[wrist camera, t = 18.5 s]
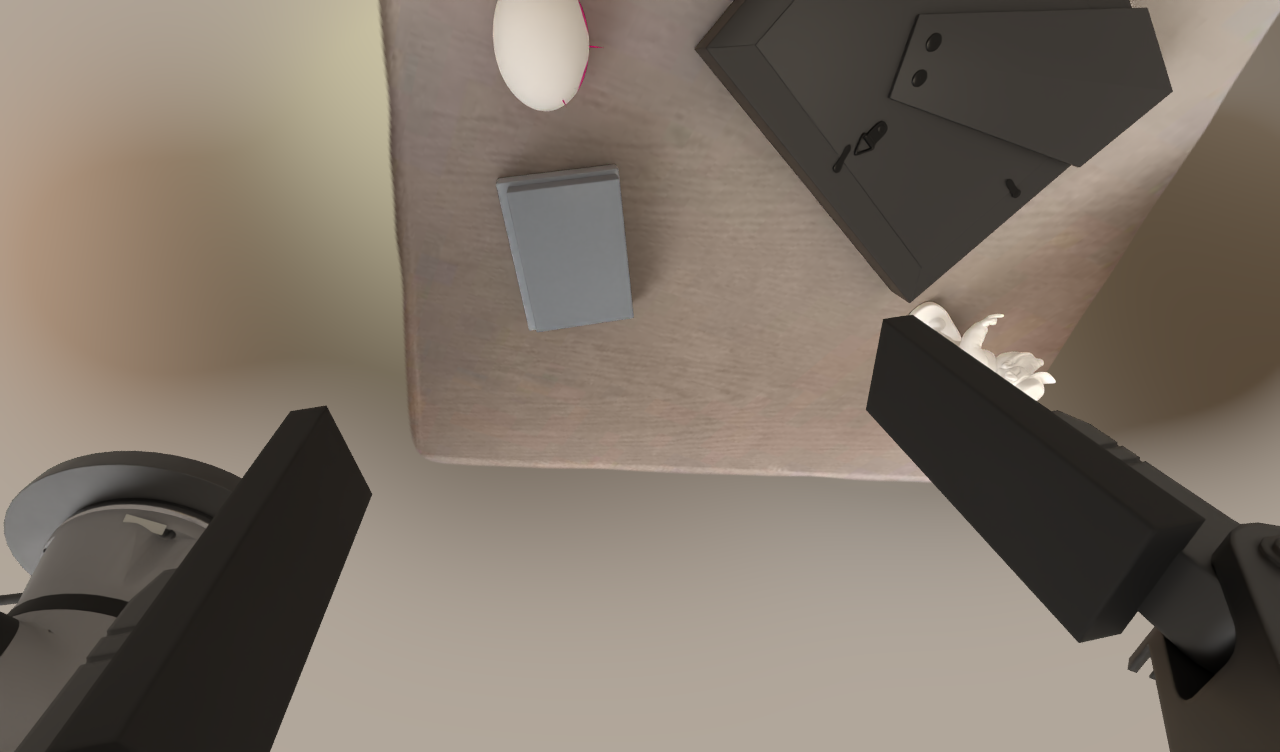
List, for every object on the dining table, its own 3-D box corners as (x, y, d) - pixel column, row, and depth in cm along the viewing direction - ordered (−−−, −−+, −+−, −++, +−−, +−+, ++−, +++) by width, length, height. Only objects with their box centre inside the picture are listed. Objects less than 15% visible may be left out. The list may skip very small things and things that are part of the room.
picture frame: (1121, 88, 42) (981, -299, 29) (1173, 91, 39) (1040, -348, 26) (890, 290, 49) (693, 48, 36) (917, 308, 46) (709, 47, 33)
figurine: (981, 339, 54) (1081, 403, 44) (927, 377, 56) (1011, 448, 46) (950, 281, 50) (1052, 338, 40) (892, 325, 51) (976, 390, 41)
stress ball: (568, 102, 39) (626, 114, 36) (473, 104, 35) (528, 118, 31) (568, -22, 35) (633, -23, 31) (459, -39, 30) (521, -43, 27)
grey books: (529, 320, 45) (528, 341, 42) (497, 178, 39) (493, 189, 35) (630, 305, 46) (637, 325, 42) (615, 163, 39) (621, 173, 36)
